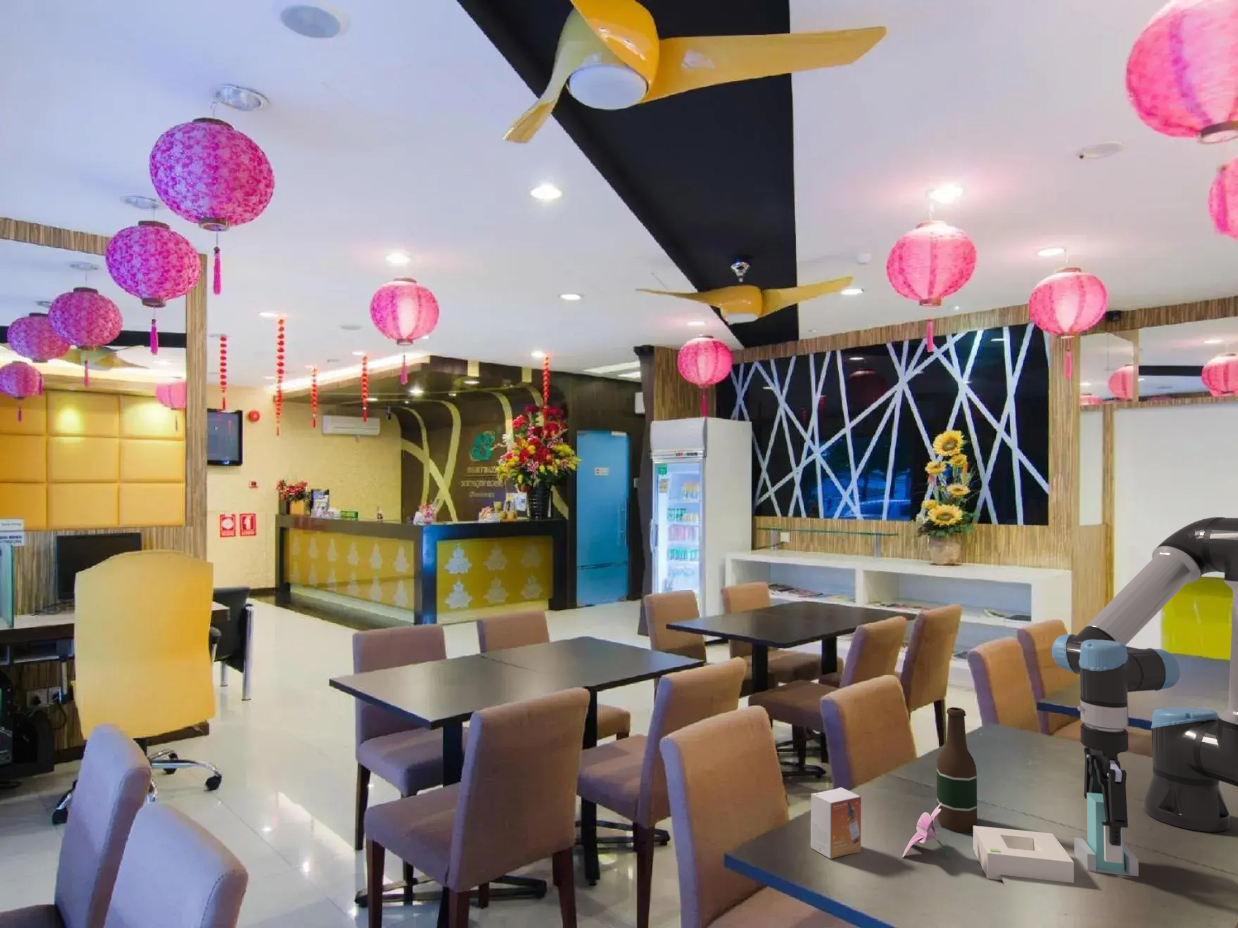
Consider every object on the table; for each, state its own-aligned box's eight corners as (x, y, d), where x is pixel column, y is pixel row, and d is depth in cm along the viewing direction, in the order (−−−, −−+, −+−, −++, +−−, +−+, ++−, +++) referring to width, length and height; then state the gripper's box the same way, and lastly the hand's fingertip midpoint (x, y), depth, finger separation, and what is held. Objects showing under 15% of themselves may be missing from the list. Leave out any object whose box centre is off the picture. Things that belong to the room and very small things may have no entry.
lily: (929, 841, 157) (904, 797, 159) (981, 838, 149) (954, 791, 150) (903, 879, 149) (876, 832, 151) (956, 877, 141) (927, 828, 142)
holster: (1122, 863, 146) (1122, 842, 147) (1138, 881, 140) (1138, 858, 140) (1074, 858, 148) (1074, 837, 148) (1087, 876, 141) (1087, 853, 142)
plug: (1114, 860, 146) (1113, 794, 146) (1124, 871, 141) (1123, 803, 142) (1087, 857, 147) (1086, 792, 147) (1096, 868, 142) (1095, 801, 143)
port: (1052, 857, 149) (1052, 832, 149) (1074, 888, 137) (1073, 860, 137) (973, 848, 152) (973, 824, 152) (987, 878, 140) (987, 851, 140)
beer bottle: (974, 836, 157) (973, 716, 158) (933, 827, 162) (932, 710, 162) (979, 823, 164) (979, 707, 165) (940, 814, 168) (939, 701, 169)
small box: (830, 860, 147) (830, 803, 147) (809, 847, 152) (810, 792, 152) (862, 851, 150) (862, 795, 151) (841, 840, 155) (841, 786, 156)
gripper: (1064, 710, 155) (1065, 827, 155) (1101, 740, 136) (1102, 874, 135) (1106, 712, 154) (1107, 831, 153) (1149, 743, 134) (1151, 880, 134)
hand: (1105, 851), depth 144 cm, fingers open, 7 cm apart
